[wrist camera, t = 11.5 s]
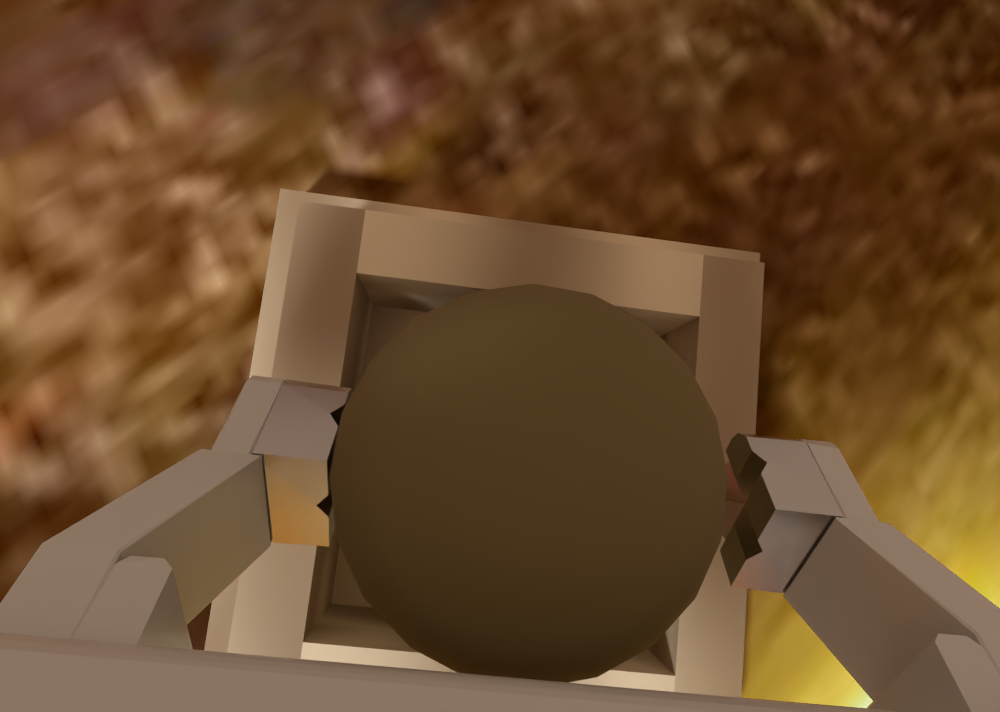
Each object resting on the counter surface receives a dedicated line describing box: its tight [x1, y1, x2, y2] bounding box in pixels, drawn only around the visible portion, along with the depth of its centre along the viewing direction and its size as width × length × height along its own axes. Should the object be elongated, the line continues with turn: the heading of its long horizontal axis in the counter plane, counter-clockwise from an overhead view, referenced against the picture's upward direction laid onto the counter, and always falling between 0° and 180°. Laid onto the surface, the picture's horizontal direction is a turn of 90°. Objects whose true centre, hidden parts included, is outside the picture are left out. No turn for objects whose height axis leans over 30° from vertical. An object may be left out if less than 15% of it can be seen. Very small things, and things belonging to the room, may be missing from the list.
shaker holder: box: [204, 189, 765, 698], centre depth 17 cm, size 14×14×5 cm
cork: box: [329, 284, 728, 683], centre depth 13 cm, size 6×6×11 cm
